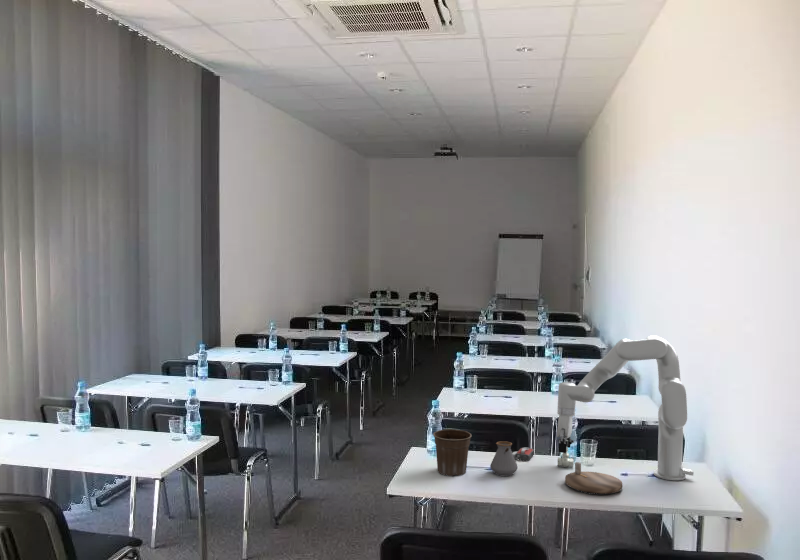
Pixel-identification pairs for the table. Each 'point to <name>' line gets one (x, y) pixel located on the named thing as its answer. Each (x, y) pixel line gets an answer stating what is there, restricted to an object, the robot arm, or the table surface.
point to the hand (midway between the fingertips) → (564, 449)
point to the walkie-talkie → (524, 454)
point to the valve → (566, 456)
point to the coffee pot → (504, 460)
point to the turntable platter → (592, 481)
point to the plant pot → (452, 451)
